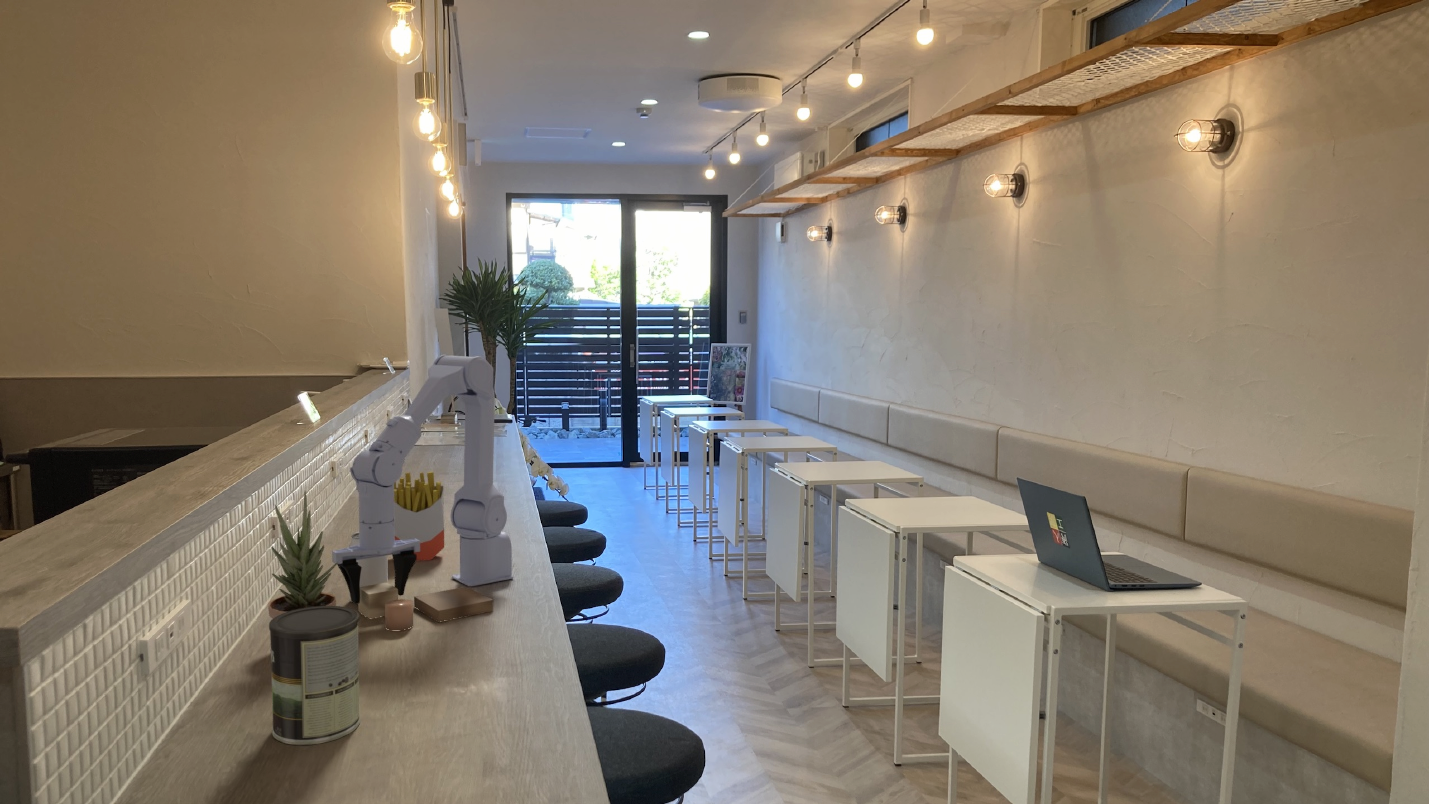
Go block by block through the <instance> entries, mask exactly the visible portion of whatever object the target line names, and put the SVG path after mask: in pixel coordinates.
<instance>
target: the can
mask: <svg viewBox="0 0 1429 804" xmlns="http://www.w3.org/2000/svg"><path fill="white" fill-rule="evenodd" d="M350 537H351V538H350V541H349V543H348V547H352V546H356V545H359V531H358V532H355V533H353V534H351V535H350ZM356 562H358V565H359V566H361V567H362V568H361V574H360V587H363V586H369V585H374V584H380V583H386V582H387V583H388V584H389V580H388V579H389V574H388V573H389V572H388V571H389V570H388V569H389V568H388V562H389V561H388V555H387V556H380V557H374V558H367V559H361V560H356ZM349 601H350V602H352V601H351V596H350V595H349ZM357 604H358V603H357ZM357 604H356V605H357Z"/></svg>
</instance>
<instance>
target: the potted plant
mask: <svg viewBox="0 0 1429 804" xmlns="http://www.w3.org/2000/svg"><path fill="white" fill-rule="evenodd" d="M303 492H304V493H303V509H302V510H303V511H302V525H301V530H300V527H299V526H300V525H297V532H296V533H297V534H296V535H297V538H296V539H297V542H296V540H295V539H294V536H293V535H292V533H291V530H290V529H289V527H288V524H287V523H286V521H285V519H284V517H283V515H282V514H281V512H280V510H279V508H278V505H276V504H274V506H275V509H274V510H275V513H276V516H277V519H278V521H279V528H280V531H281V532H280V533H281V535H282V539H283V542H284V544H285V546H284V545H283V543H282V541H279V545H280V549H281V551H282V553H283V555H284V556H283V555H282V554H280V552H278V551H277V550H276V549H275V548H274V547H273V546H271V551H272V552H273V554H274V555H275V557H276V558H277V560H278V562H279V564H280V566H281V568H282V570H283V572H284V573H285V575H284V574H281V575H280V574H278V575H276V574H275V573H271V575H272V576H273V578H274V579H276V580H277V581H278V582H279V583H281V585H283V586H284V587H285V588H286V590H287V591H288V592H289V593H288V592H287V591H286V590H284V589H281V588H279V589H278V590H279V592H281V593H282V594H283V595H281V596H278V597H276V598H273V599H272V600H271V601H269V603H268V605H267V606H268V616H269V618H271V620H272V619H273V618H275V617H276V616H278V615H280V614H283V613H285V612H288V611H292V610H296V609H301V608H306V607H315V606H337V605H336V603H337V598H336V596H335V595H334V594H332V593H328V592H323V590H324V589H325V587H326V585H325V584H326V582H327V581H328V579H329V578H330V576H332V575H331V574H332V572H331V571H332V570H333V569H334V568H335V567H336V566H338V565H337V564H338V562H337V563H333V565H332V566H331V567H330V568H329V569H328V570H326V571H325V572H324V573H322V574H321V575H320V573H321V571H322V570H323V568H324V565H323V564H321V563H322V559H321V558H322V555H323V552H324V550H325V545H324V544H323V545H322V547H321V543H322V539H323V535H324V534H323V532H324V531H323V530H321V531H320V532H319V535H318V537H317V539H316V540H315V542H314V544H313V545H312V546H311V545H310V544H311V534H312V526H311V520H312V519H311V518H312V516H311V510H309V511H308V501H307V492H306V490H304V491H303ZM310 546H311V547H310ZM320 547H321V548H320ZM319 575H320V576H319Z"/></svg>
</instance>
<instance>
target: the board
mask: <svg viewBox="0 0 1429 804" xmlns="http://www.w3.org/2000/svg"><path fill="white" fill-rule="evenodd" d="M414 607H416V608H418V609H419V610H420V611H419V610H418V611H419V612H421V611H422V612H424V613H425V614H424V613H423V614H424V615H426V616H427V615H428V616H427V617H429V616H430V617H429V618H431V617H432V618H433V619H432V618H431V619H432V620H434V619H435V620H434V621H436V620H437V621H439V622H438V623H441V622H440V621H443V622H445V621H444V620H448V621H451V620H450V619H453V618H457V619H460V618H459V617H462V618H465V616H467V617H472V616H476V615H481V614H485V612H486V613H490V612H494V599H492V598H490V597H488V596H486V595H484V594H483V593H481V592H478V591H477V590H474V589H472V588H471V587H470V586H462V587H458V588H452V589H451V588H450V589H447V590H442V591H437V592H435V591H434V592H431V593H425V594H421V595H420V594H419V595H415V596H413V608H414ZM416 608H415V609H416ZM422 612H421V613H422ZM480 613H481V614H480ZM471 615H472V616H471ZM453 620H454V619H453ZM437 621H436V622H437Z"/></svg>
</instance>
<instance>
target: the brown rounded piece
mask: <svg viewBox="0 0 1429 804" xmlns="http://www.w3.org/2000/svg"><path fill="white" fill-rule="evenodd" d="M384 619H385V620H384V621H385V622H384V625H385V626H384V627H385V628H387V629H389V630H404V629H408V628H410V627H412V626H413V627H414V600H413V601H412V600H409V599H403V598H401V599H398V600H393V601H389V602H387V603H385V617H384ZM413 627H412V628H413ZM408 630H409V629H408ZM404 631H405V630H404Z"/></svg>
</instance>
